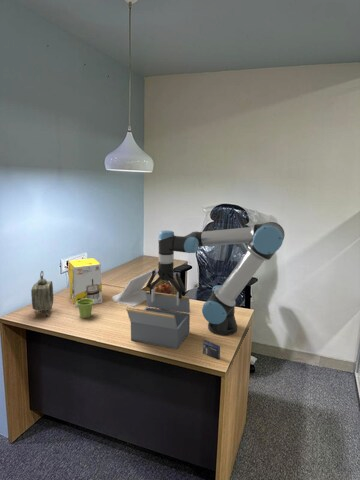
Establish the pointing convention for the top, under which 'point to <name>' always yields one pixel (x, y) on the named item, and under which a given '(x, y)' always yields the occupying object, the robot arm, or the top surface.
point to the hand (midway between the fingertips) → (165, 302)
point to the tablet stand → (133, 291)
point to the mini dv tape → (211, 349)
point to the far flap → (168, 302)
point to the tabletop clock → (42, 295)
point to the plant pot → (85, 307)
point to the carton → (162, 331)
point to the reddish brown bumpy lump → (163, 289)
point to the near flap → (152, 318)
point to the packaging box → (85, 280)
